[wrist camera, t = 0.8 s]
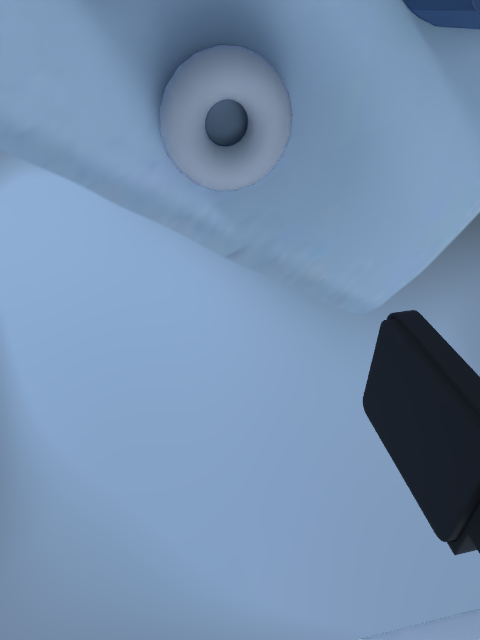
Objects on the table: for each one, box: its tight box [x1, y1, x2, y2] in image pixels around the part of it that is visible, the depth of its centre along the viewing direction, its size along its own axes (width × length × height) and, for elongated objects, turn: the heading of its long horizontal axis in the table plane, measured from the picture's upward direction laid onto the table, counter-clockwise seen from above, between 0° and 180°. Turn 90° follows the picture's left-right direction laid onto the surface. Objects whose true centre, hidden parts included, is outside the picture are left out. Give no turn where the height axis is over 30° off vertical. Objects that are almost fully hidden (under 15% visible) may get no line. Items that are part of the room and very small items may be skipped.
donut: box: [159, 45, 292, 191], centre depth 32 cm, size 10×3×10 cm
